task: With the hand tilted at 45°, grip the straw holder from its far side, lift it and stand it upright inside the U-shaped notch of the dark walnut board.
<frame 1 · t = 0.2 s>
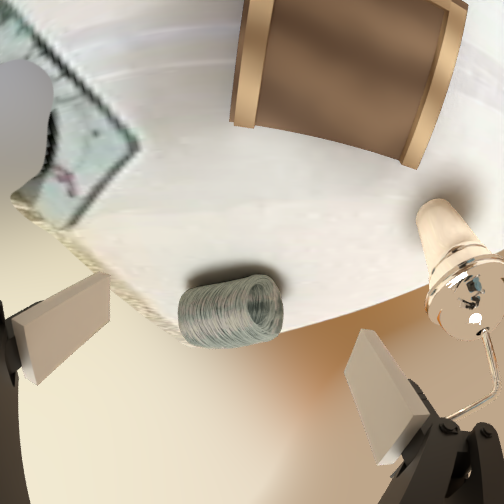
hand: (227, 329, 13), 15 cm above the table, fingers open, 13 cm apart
spool: (234, 287, 37), on the table
notched board: (352, 44, 15), on the table
cup with straw: (431, 215, 25), on the table
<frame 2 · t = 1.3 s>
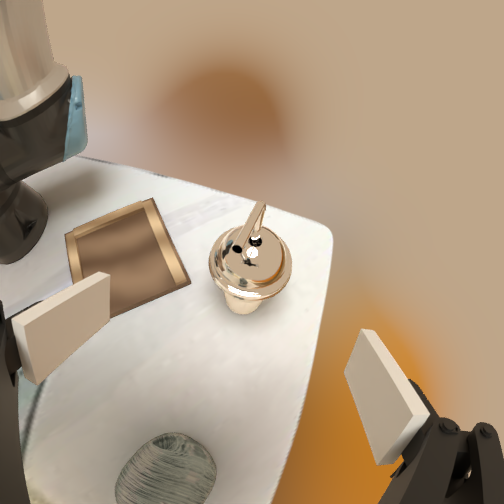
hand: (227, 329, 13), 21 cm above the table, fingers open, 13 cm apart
spool: (170, 477, 24), on the table
notched board: (120, 259, 38), on the table
cup with straw: (241, 300, 37), on the table
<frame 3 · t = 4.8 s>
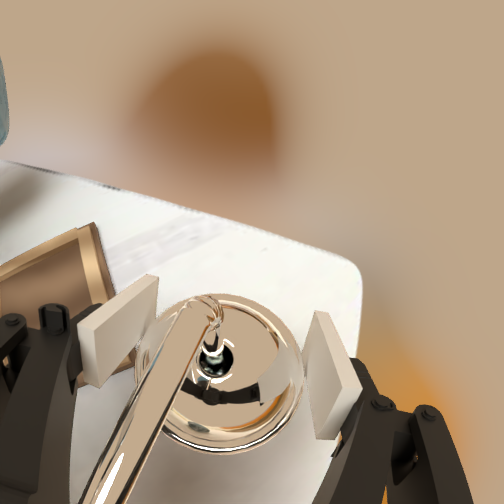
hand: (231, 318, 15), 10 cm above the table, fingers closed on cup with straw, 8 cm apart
notched board: (48, 315, 22), on the table
cup with straw: (219, 392, 21), on the table, touching gripper
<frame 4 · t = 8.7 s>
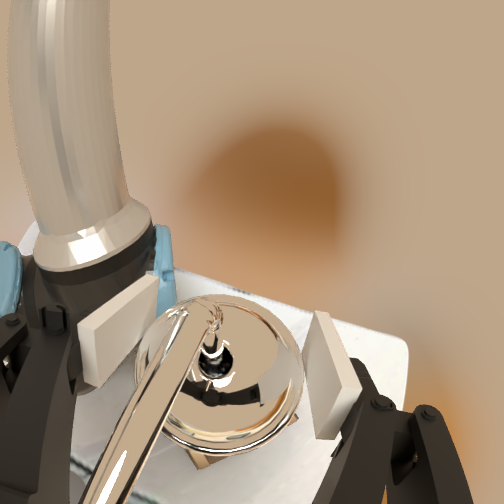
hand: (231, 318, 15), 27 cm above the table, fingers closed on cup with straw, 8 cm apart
notched board: (220, 399, 36), on the table
cup with straw: (218, 392, 21), point 18 cm above the table, touching gripper
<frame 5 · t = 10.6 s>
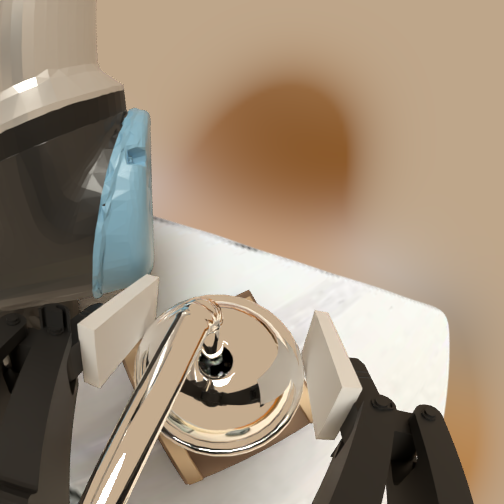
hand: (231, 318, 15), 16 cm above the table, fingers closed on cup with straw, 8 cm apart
notched board: (218, 387, 26), on the table
cup with straw: (218, 392, 21), point 6 cm above the table, touching gripper
when the fingers open (12 cm above the table, at t = 12.3 s): cup with straw drops 1 cm, resting on notched board.
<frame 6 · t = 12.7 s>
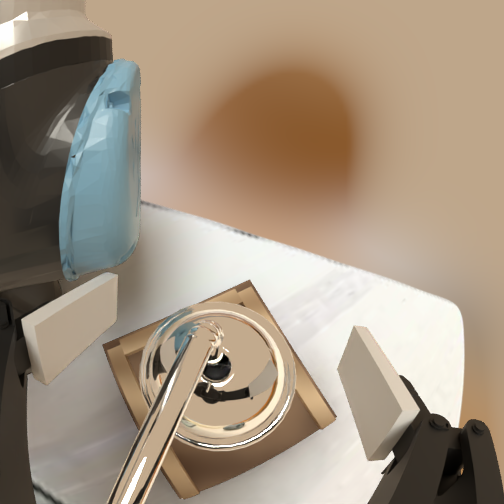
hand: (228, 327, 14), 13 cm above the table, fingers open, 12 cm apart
notched board: (215, 390, 23), on the table
cup with straw: (216, 390, 22), point 1 cm above the table, touching notched board
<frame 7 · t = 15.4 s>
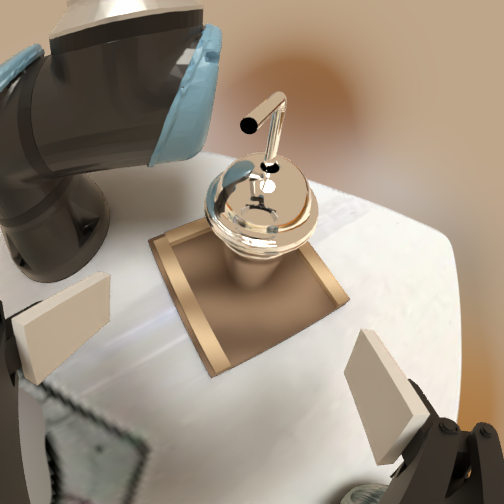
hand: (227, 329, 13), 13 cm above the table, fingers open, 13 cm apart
notched board: (245, 275, 30), on the table
cup with straw: (247, 271, 29), point 1 cm above the table, touching notched board
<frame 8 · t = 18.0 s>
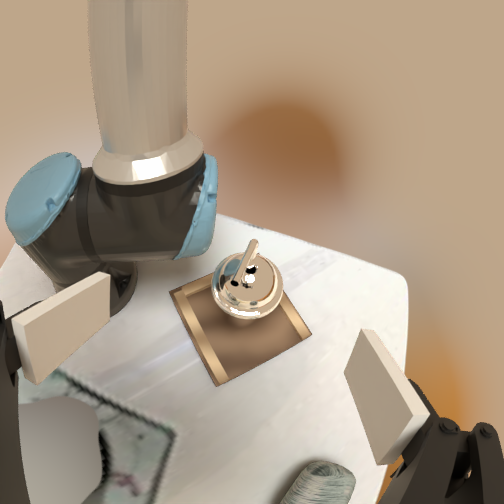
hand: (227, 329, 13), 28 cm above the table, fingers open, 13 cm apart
spool: (305, 497, 28), on the table
notched board: (238, 316, 42), on the table
cup with straw: (240, 315, 41), point 1 cm above the table, touching notched board
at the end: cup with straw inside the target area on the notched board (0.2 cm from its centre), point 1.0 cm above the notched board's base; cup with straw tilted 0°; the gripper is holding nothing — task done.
